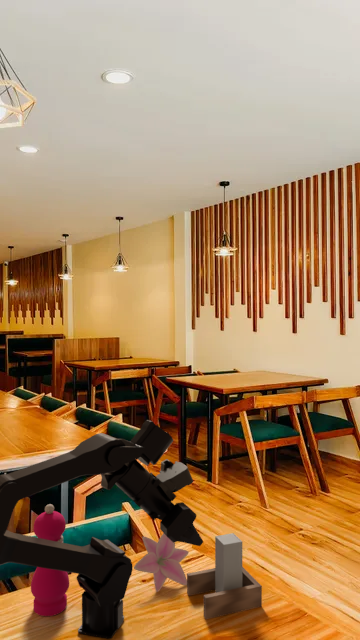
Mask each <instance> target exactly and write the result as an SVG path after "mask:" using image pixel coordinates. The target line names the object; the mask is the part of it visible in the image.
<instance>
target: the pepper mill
mask: <svg viewBox="0 0 360 640" xmlns="http://www.w3.org/2000/svg"><path fill="white" fill-rule="evenodd" d="M65 530H66V519H65V517H64V515H63V514H61V513H60V512H58V511H56V510H55V506H54V505H53V504H51V503H49V504H47V505H46V506H44V512H41V513H40V514H39V515H38V516H37V517H36V518H35V519H34V523H33V533H34V535H35V537H36V538H41V539H46V540H51V541H56V542H61V543H64V536H63V534H64V532H65ZM68 573H69V572H65V571H59V570H53V569H47V568H41V567H36V569H35V571H34V573H33V575H32V577H31V582H30V592H31V594H32V596H34V598H33V612H34V613H35V614H37V615H38V616H41V617H52V616H56V615H59V614H60V613H62V612H63V611H65V610H66V608H67V607H68V595H67V594H66V593H67V592H68V590H69V588H70V578H69V574H68Z"/></svg>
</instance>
